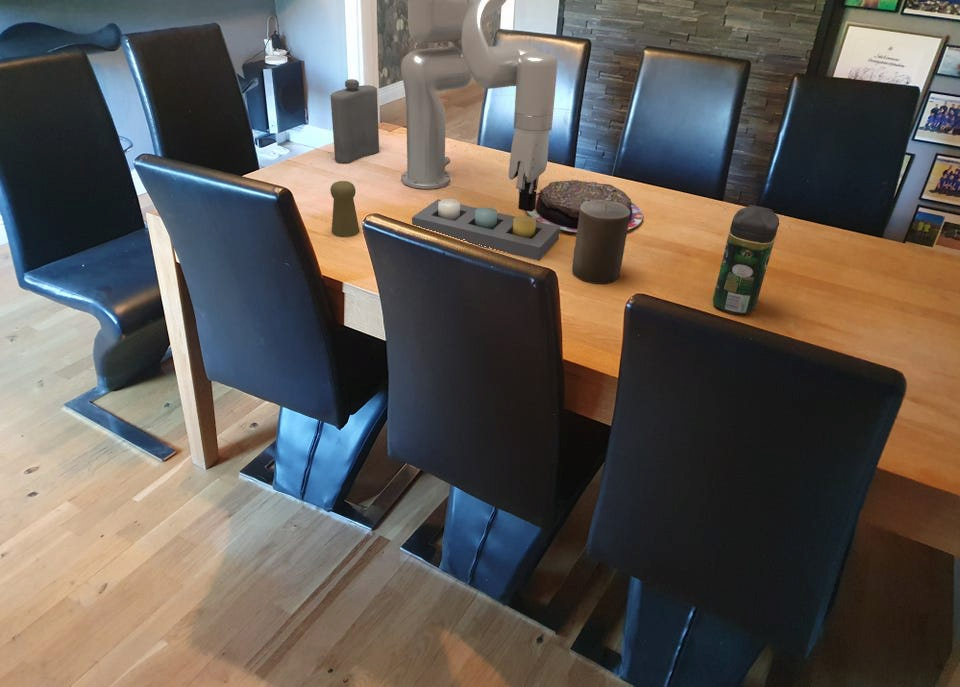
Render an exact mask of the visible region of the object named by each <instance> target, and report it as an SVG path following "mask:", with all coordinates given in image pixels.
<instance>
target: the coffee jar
mask: <svg viewBox="0 0 960 687" xmlns="http://www.w3.org/2000/svg"><path fill="white" fill-rule="evenodd" d="M779 218H780V217H779V216H778V215H777V213H776V212H774V210H773V209H772V208H767V207H763V206H757V205H751V204H750V205H748V206H746V207H742V208H740V209H738V210H737V211H736V212H735V214H734V216H733V218H732V221H731V225H730V228H729V232H728V235H727V239H726V244H725V247H724V252H723V255H722V259H721V264H720V269H719V272H718V277H717V280H716V285H715V289H714V293H713V297H712V303H713V305H714V307H717V308H719V309H720V310H722V311H724V312H726V313H729V314H733V315H748V314H751V313H752V312H753V310H754V309H755V308H756V307H757V303H758V300H759V296H760V292H761V289H762V285H763V282H764V277H765V274H766V271H767V268H768V265H769V261H770V258H771V254H772V250H773V247H774V244H775V241H776V237H777V232H778V228H779V226H780V224H781V223H780V219H779Z"/></svg>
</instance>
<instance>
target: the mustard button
mask: <svg viewBox="0 0 960 687" xmlns="http://www.w3.org/2000/svg"><path fill="white" fill-rule="evenodd" d="M535 228H536V219H535V218H533V217H530V216H529V215H518V216H515V218H514V220H513V233H512V234H513V235H517V236H521V237H526V238H530V239H532V238H533V237H534V236H535Z"/></svg>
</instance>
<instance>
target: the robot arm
mask: <svg viewBox="0 0 960 687" xmlns="http://www.w3.org/2000/svg"><path fill="white" fill-rule="evenodd" d="M506 2H507V0H407V27H408V33H409V35H410V38H411V40H413V42H416V43H418V44H439V43H448V46H446V47H432V48H422V49H417V50H416V49H415V50H412V51H410V52H408V53H407V54H406V55H405V56H404V58H403V59H402V62H401V77H402V81H403V87H404V95H405V110H406V111H405V112H406V113H405V114H406V159H407V160H406V161H407V163H406V165H407V168H406V169H407V170H405V171H404V172H403V173H401V182H402V183H403V184H404V185H406V186H409V187H411V188H414V189H415V188H416V189H420V190H421V189H422V190H424V189H425V190H430V189H432V190H433V189H439V188H444V187H446V186H447V185H449V184H450V183H451V181H452V180H451V178H452V177H451V174H450V173H449V172H447V171H446V166H447V165H449V164H450V163H451V158H450V157H449V156H446V121H447V120H446V119H447V118H446V108H445V105H444V104H443V102H442V100H441V99H440V98H439V97H438V96H439V95H438V94H437V93H438V92H442V91H449V90H450V91H451V90H456V89H457V90H458V89H462V88H463V89H464V88H466V87H468V86H469V85H470V83H471V82H472V80H474V81H475V82H476V84H477V85H478V86H480V87H481V88H482V89H488V90H489V89H499V88H500V89H501V88H508V87H515V96H514V98H515V99H514V115H513V129H514V133H513V137H512V142H511V148H510V159H509V167H508V178H509V180H514V179H516V178H517V179H516V184H515V188H516V189H517V190H518V206H517V208H518V210H520V211H524V212H527V211H529V212H532V211H533V210H534V209H535V205H536V194H537V193H538V192H537V190H538V186H539V180H540V179H539V178H540V176H541V175H542V174H543V173H544V172H545V171H546V170H547V166H548V159H549V157H548V156H549V145H550V144H549V143H550V142H549V141H550V140H549V139H550V137H549V136H550V135H549V134H550V132H551V131H552V129H553V120H554V119H553V118H554V110H555V96H556V86H557V76H558V74H557V73H558V60H557V57H556V56H555V55H553V54H551V53H548V52H542V51H540V50H539V49H537V48H536V47H535V46H533V45H530V44H526V43H525V44H522V43H521V44H508V45H495V46H489V44H488V42H487V38H486V36H485V33H484V30H483V24H482V23H483V19H485V18H486V17H488V16H490V15H492V14H493V13H495V12H496V11H498V10H500V8H501V7H503V6H504V4H505V3H506Z"/></svg>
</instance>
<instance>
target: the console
mask: <svg viewBox="0 0 960 687" xmlns="http://www.w3.org/2000/svg"><path fill="white" fill-rule="evenodd" d="M441 200H442V199H439V198H437V199H436V200H435V201H434V202H431V204H429V205H428V206H426V207H424V208H423V209H421V210H420V211H418V212H417V213H416V214H415V215H413V216H412V217H411V225H412V224H413V225H416V226H420V227H422V228H425V229H429V230H432V231H436V232H439V233H442V234H445V235H448V236H451V237H454V238H457V239H460V240H463V239H465V240H463V241H467V242H469V243H472V244H475V245H474V246H476V245H478V247H480V246H481V245H482V248H484V246H486V247H485V249H490V248H492V249H490V250H493V251H497V250H499V251H498V252H501V251H503V252H502V253H505V252H507V253H506V254H509V253H510V255H513V256H518V257H521V258H527V259H530V260H533V261H540V260H541V259H542V258H543V257H544V256H545V254H547V252H548V251H549V250H550V249H551V248H552V247H553V246H554V245H555V244H556V243H557V242H558V241H559V238H560V232H561V231H560V227H559V226H555V225H551V224H546V223H542V222H537V221H536V228H535V236H534V237H533V238H532V239H530V238H526V237H521V236H517V235H513V234H512V233H513V220H514V218H515V217H516V216H514V215H511V214H510V215H509V214H506V213H500V212H497V226H496V227H495V228H494V229H493V230H492V229H487V228H483V227H479V226H475V210H476V209H478V208H479V207H475V206H470V205H467V204H461V203H460V217H459V218H458V219H457V220H456V221H453V220H449V219H445V218H440V217H438V202H439V201H441ZM472 244H471V245H472ZM479 244H480V245H479ZM489 247H490V248H489ZM494 249H496V250H494Z"/></svg>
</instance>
